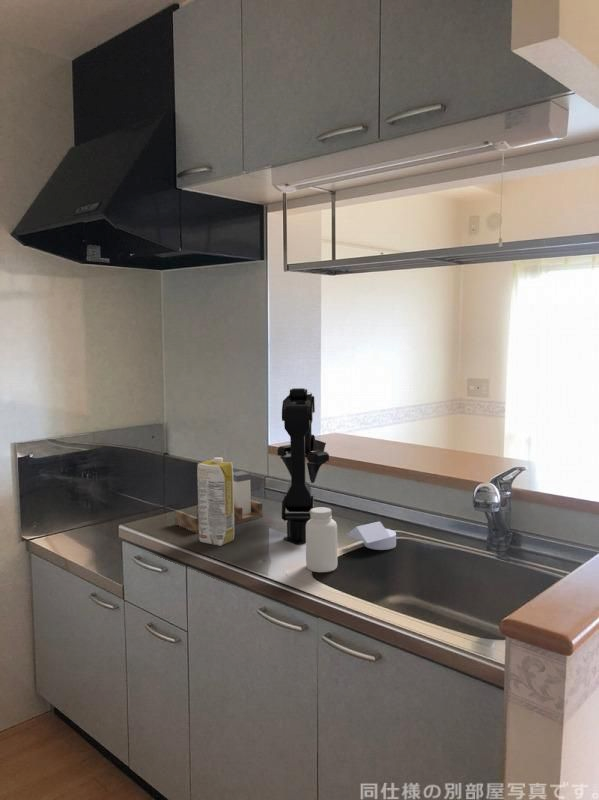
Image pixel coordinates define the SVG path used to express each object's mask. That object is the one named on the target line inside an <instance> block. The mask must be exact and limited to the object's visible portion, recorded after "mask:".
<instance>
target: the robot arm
mask: <svg viewBox="0 0 599 800" xmlns="http://www.w3.org/2000/svg"><path fill="white" fill-rule="evenodd" d="M281 405H282V407H281V421H282V422H283V424H284V430H285V431H286V432H287V434H288V436H289V437H290V443H289V444H287V445H281V446H279V447H278V448H277V456H280V458H279V459H281V460H282V462H283V463H284V465H285V466H286V469H287V471H288V473H289V475H290V477H291V480H290V481H291V482H290V483H289V484H288V487H287V490H286V493H285V494H286V495H284V497H283V499H282V501H281V519H282V520H283V521H284V522H286V521H287V522H286V533H287V534H286V535H287V536H283V540H285V541H288V542H290V543H293V544H295V545H301V544H303V543H306V523H307V521H308V520H310V519H311V516H310V510H311V509H313V508H315V507H314V506H315V505H314V504H315V503H314V495H312V488H311V484H313V483H315V482H316V478H317V476H318V473H319V471H320V468H321V466H323V465H324V464H326V463H327V462H329V461H330V454H329V453H328V452H327V451H325V449H326V446H327V445H326V444H327V442H323V441H321V440H317V439H316V436H315V434H312V423H313V419H314V418H313V415H314V413H315V411H316V405H315V396H314V395H313V393H312V392H308V388H307V389H306V388H295V387H294V388H290V389H289V394H288V395H287V396H286V397H285V398H284V400H282V404H281ZM306 459H307V460H306ZM306 461H307V462H306ZM306 465H307V466H306ZM306 467H307V470H308V471H307V472H308V475H309V480H310V483H311V484H310V483H308V482H307V481H306V478H307V476H306ZM287 511H288V512H287Z"/></svg>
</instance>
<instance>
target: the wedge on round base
mask: <svg viewBox="0 0 599 800" xmlns="http://www.w3.org/2000/svg"><path fill="white" fill-rule="evenodd" d="M345 534H346V536H348V537H351V538H353V539H356V540H358V541H360V542H363V546H364V545H365V546H364V547H366V548H368V549H371V550H378V551H384V550H385V551H386V550H391V549H394V548H396V546H397V533H396V531H395V530H392V529H390V528H386V527H385V526H384V525H383V523H382V522H381V521H375V522H371V523H366V524H362V525H358V526H357V525H356V526H355V527H353V529H351V530H350V531H349V532H347V533H345Z"/></svg>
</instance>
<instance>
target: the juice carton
mask: <svg viewBox="0 0 599 800" xmlns="http://www.w3.org/2000/svg"><path fill="white" fill-rule="evenodd" d="M233 472H234V467H233V462H231V461H230V462H229V461H228V462H227V461H225V462H224V458H223V457H213V459H210V460H209V459H208V460H205V461H202V462H199V463H197V472H196V473H197V474H196V475H197V506H198V517H199V533H198V536H199V541H200V542H201V543H203V544H204V543H205V544H209V545H210V544H211V545H214V546H219V547H221V546H224V545H226V544H229V543H230V542H232V541H234V539H235V524H234V481H233Z"/></svg>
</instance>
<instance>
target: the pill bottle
mask: <svg viewBox="0 0 599 800" xmlns="http://www.w3.org/2000/svg"><path fill="white" fill-rule="evenodd" d="M309 513H310V516H311V519H310V520H308V521H307V523H306V542H305V565H306V568H307V569H308V571H311V572H314V573H315V572H316V573H330V572H333V571H335V570H336V569H337V568H338V524H337V522H336V521H335V520H334V519H333V516H332V509H331V508H330V507H324V506H320V507H318V506H317V507H314V508H313V509H311V510H310V511H309Z"/></svg>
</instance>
